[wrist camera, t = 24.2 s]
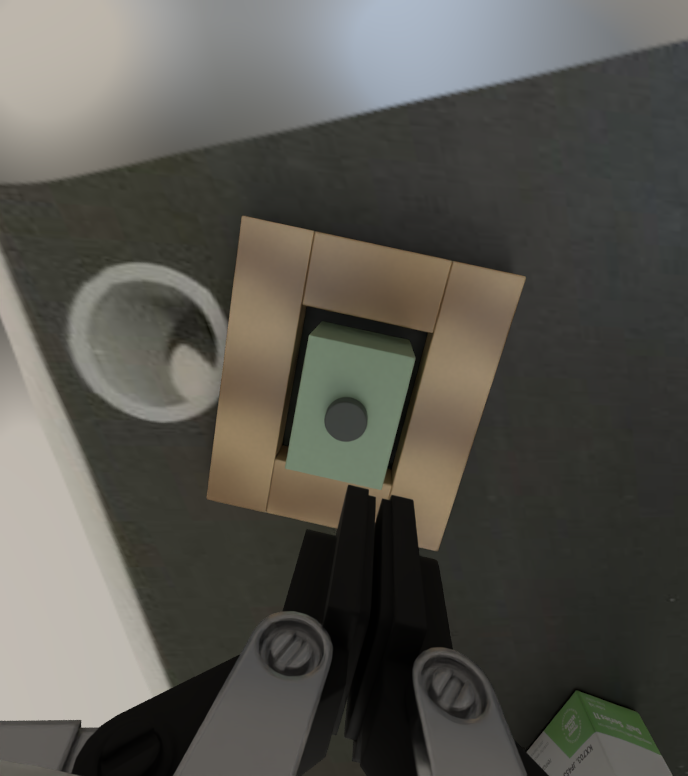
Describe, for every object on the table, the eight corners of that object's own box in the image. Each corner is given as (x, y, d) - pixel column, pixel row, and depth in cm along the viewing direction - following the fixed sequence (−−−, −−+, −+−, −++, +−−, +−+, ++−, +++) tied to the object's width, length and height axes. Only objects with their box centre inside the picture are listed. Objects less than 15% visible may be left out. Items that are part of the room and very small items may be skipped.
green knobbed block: (321, 320, 24) (305, 337, 19) (409, 339, 24) (417, 362, 19) (300, 434, 26) (280, 476, 21) (381, 452, 26) (381, 499, 21)
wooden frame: (253, 218, 23) (241, 215, 21) (514, 275, 23) (527, 276, 21) (218, 482, 28) (206, 499, 26) (434, 531, 27) (438, 552, 26)
